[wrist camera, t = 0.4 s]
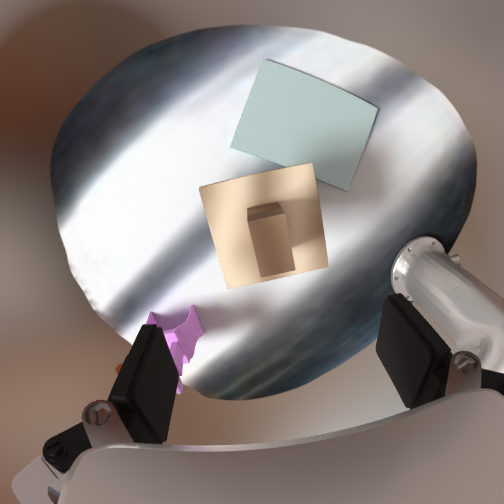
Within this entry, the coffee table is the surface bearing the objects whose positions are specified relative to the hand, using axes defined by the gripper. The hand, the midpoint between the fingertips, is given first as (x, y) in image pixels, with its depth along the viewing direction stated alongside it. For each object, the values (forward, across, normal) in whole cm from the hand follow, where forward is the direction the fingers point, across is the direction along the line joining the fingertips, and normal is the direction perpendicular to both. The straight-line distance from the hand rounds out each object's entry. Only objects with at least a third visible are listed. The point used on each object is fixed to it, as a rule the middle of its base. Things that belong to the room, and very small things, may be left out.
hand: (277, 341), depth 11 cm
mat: (+30, -9, -10) cm, 33 cm away
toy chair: (+31, +16, +20) cm, 40 cm away
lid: (+18, -1, +1) cm, 18 cm away
